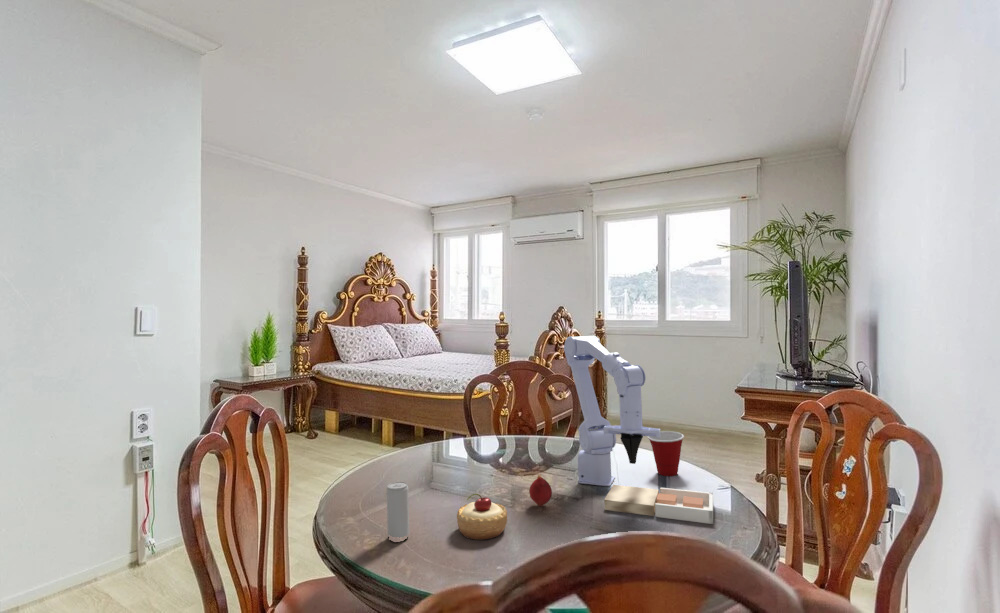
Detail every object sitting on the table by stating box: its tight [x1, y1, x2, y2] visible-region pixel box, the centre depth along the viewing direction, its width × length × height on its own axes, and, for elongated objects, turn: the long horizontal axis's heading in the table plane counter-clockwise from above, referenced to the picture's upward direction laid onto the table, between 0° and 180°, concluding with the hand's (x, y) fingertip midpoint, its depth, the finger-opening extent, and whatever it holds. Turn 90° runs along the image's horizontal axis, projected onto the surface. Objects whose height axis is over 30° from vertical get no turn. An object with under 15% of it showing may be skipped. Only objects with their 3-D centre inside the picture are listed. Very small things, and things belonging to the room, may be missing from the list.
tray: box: [654, 487, 714, 525], centre depth 121 cm, size 13×13×3 cm
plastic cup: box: [647, 430, 685, 477], centre depth 150 cm, size 11×11×12 cm
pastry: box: [456, 493, 508, 541], centre depth 113 cm, size 12×12×9 cm
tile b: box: [683, 496, 704, 509], centre depth 120 cm, size 4×4×2 cm
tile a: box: [656, 492, 677, 506], centre depth 122 cm, size 4×4×2 cm
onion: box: [528, 474, 553, 507], centre depth 127 cm, size 6×6×8 cm
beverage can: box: [386, 481, 410, 538], centre depth 110 cm, size 5×5×12 cm
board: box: [603, 484, 660, 517], centre depth 126 cm, size 12×12×2 cm
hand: (632, 462), depth 129 cm, fingers closed
